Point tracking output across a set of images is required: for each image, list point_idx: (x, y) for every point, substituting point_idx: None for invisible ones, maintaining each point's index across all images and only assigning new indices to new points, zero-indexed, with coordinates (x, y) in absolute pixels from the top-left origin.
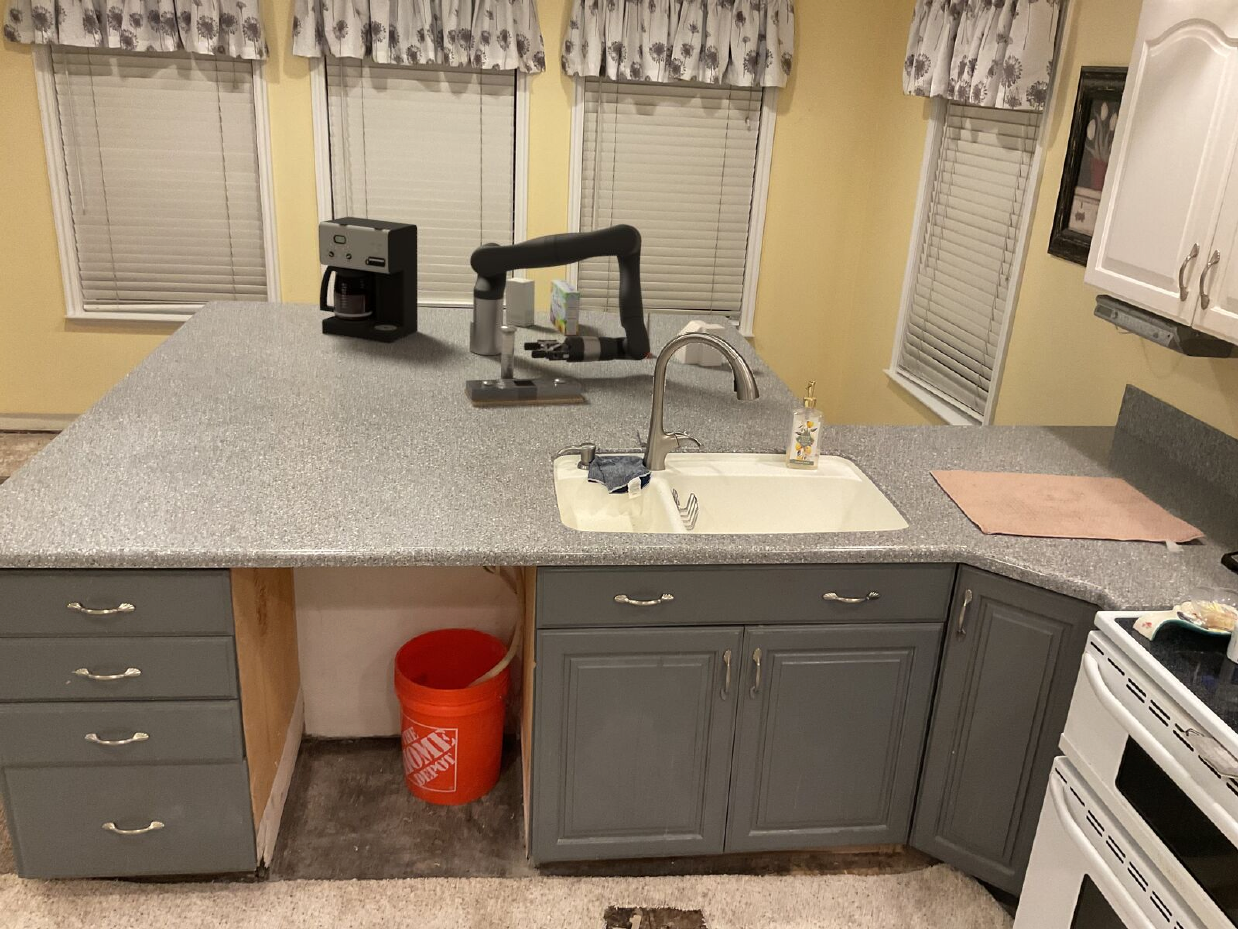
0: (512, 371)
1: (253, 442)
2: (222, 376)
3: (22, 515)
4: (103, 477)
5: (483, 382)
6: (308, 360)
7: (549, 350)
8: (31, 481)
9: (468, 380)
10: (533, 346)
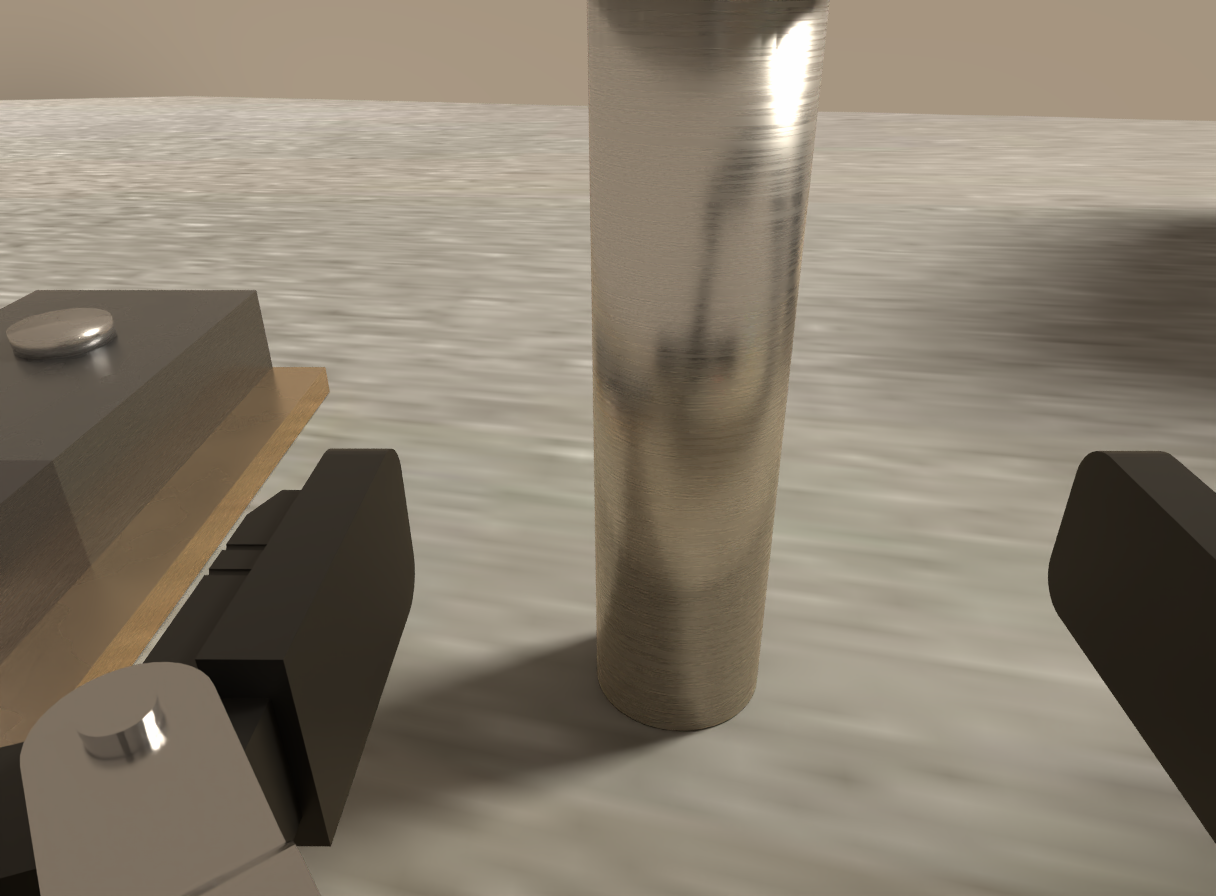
0: (618, 626)
1: (171, 150)
2: None
3: (68, 100)
4: (148, 111)
5: (74, 310)
6: (933, 183)
7: (47, 788)
8: (193, 98)
9: (247, 296)
10: (1195, 674)
